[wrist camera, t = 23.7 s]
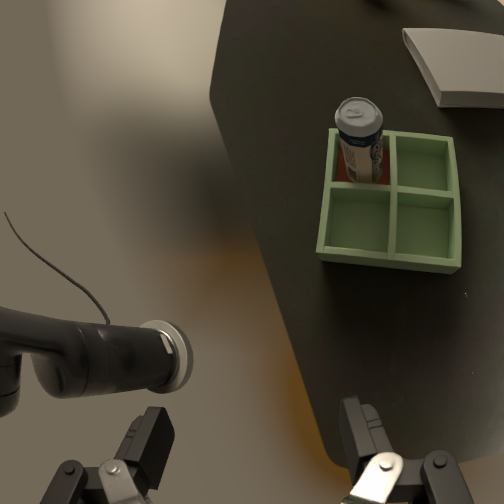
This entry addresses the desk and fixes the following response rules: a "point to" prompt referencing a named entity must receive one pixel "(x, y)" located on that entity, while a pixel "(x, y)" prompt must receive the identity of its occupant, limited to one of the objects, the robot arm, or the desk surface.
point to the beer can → (361, 139)
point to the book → (459, 66)
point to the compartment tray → (394, 207)
